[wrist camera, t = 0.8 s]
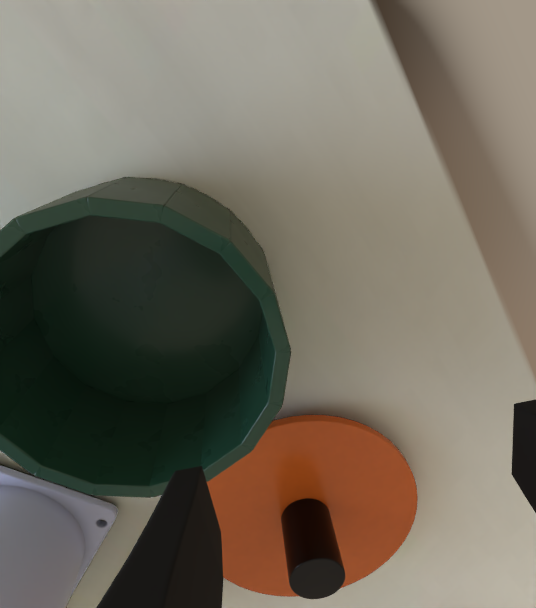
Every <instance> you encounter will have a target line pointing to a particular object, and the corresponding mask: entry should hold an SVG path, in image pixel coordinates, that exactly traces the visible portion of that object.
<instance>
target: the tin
mask: <svg viewBox="0 0 536 608" xmlns="http://www.w3.org/2000/svg"><path fill="white" fill-rule="evenodd" d="M290 356H291V348H290V344H289V340H288V337H287V333H286V329H285V326H284V322H283V318H282V315H281V311H280V307H279V304H278V300H277V296H276V293H275V289H274V286H273V282H272V279H271V275H270V272H269V268H268V265H267V261H266V258H265V254H264V251H263V250H262V248H261V247H260V245H259V244H258V243H257V242H256V240H255V239H254V237H253V236H252V234H251V233H250V232H249V230H248V229H247V228H246V226H245V225H244V224H243V223H242V222H241V221H240V220H239V219H238V218H237V217H236V216H235V215H234V213H233V212H232V211H231V210H230V209H228V208H227V207H225V206H223V205H222V204H221V203H219V202H217V201H216V200H214V199H213V198H211V197H210V196H208V195H206V194H204V193H202V192H200V191H198V190H195V189H193V188H191V187H188V186H186V185H185V184H181V183H176V182H171V181H166V180H160V179H151V178H133V177H127V178H126V177H124V178H120V179H117V180H114V181H110V182H106V183H102V184H99V185H97V186H93V187H90V188H86V189H83V190H80V191H76V192H74V193H71V194H69V195H67V196H64V197H62V198H60V199H57V200H55V201H53V202H50V203H48V204H46V205H43V206H41V207H39V208H36V209H34V210H32V211H29V212H27V213H25V214H22V215H20V216H18V217H16V218H14V219H12V220H11V221H10V222H9V223H8V224H7V225H6V226H5V227H4V228H2V229H1V230H0V450H1V451H2V452H3V453H5V454H6V455H7V456H9V457H10V458H11V459H13V460H14V461H15V462H16V463H18V464H19V465H20V466H22V467H23V468H24V469H26V470H27V471H28V472H30V473H31V474H34V475H35V476H37V477H40V478H43V479H46V480H48V481H51V482H54V483H57V484H60V485H63V486H66V487H69V488H72V489H75V490H77V491H80V492H83V493H86V494H89V495H93V496H120V497H147V498H150V497H156V496H160V495H162V494H163V492H164V490H165V488H166V486H167V484H168V482H169V480H170V478H171V476H172V475H173V473H174V472H175V471H177V470H183V469H188V468H193V467H198V466H202V468H203V471H204V475H205V478H206V481H207V482H208V481H210V480H211V479H213V478H214V477H216V476H217V475H218V474H220V473H221V472H223V471H224V470H226V469H227V468H229V467H230V466H232V465H233V464H234V463H236V462H237V461H239V460H240V459H242V458H243V457H245V456H246V455H247V454H249V453H250V452H251V451H252V450H253V449H254V448H255V446H256V445H257V443H258V442H259V440H260V439H261V437H262V436H263V434H264V433H265V431H266V430H267V428H268V427H269V425H270V424H271V422H272V421H273V419H274V418H275V416H276V415H277V413H278V412H279V410H280V409H281V407H282V404H283V399H284V393H285V387H286V381H287V374H288V368H289V362H290Z"/></svg>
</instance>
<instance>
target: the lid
mask: <svg viewBox="0 0 536 608" xmlns="http://www.w3.org/2000/svg"><path fill="white" fill-rule="evenodd" d="M207 485H208V488H209V492H210V495H211V499H212V502H213V506H214V509H215V513H216V516H217V519H218V523H219V526H220V530H221V539H222V561H223V577H224V578H225V579H227V580H228V581H230V582H232V583H234V584H236V585H238V586H240V587H243V588H245V589H248V590H251V591H255V592H258V593H262V594H268V595H274V596H300V597H303V598H307V599H320V598H324V597H327V596H330V595H332V594H334V593H335V592H336V591H338V590H339V589H340V588H342V587H345V586H347V585H349V584H352V583H354V582H356V581H358V580H360V579H362V578H364V577H366V576H367V575H369V574H370V573H372V572H373V571H375V570H376V569H378V568H379V567H380V566H381V565H383V564H384V563H385V562H386V561H388V560H389V558H390V557H391V556H392V555H393V554H394V553H395V552H396V551H397V550H398V549H399V547H400V546H401V545H402V543H403V542H404V540H405V539H406V537H407V535H408V533H409V532H410V529H411V527H412V524H413V522H414V519H415V514H416V510H417V488H416V483H415V479H414V476H413V473H412V471H411V469H410V467H409V465H408V463H407V461H406V459H405V458H404V456H403V455H402V454H401V452H400V451H399V449H398V448H397V447H396V446H395V445H394V444H393V443H392V442H391V441H390V440H389V439H387V438H386V437H385V436H383V435H382V434H380V433H379V432H377V431H376V430H374V429H372V428H370V427H368V426H366V425H364V424H361V423H358V422H356V421H353V420H349V419H345V418H341V417H336V416H327V415H301V416H292V417H287V418H282V419H278V420H274V421H272V422H271V424H270V425H269V427H268V428H267V430H266V431H265V433H264V434H263V436H262V437H261V439H260V440H259V442H258V443H257V445H256V446H255V448H254V449H253V450H252V451H251V452H250V453H249V454H247V455H246V456H245V457H243V458H242V459H240V460H239V461H237V462H236V463H234V464H233V465H232V466H230V467H229V468H227V469H226V470H224V471H223V472H221V473H220V474H218V475H217V476H216V477H214V478H213V479H211V480H210V481H208V482H207Z"/></svg>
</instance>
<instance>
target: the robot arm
mask: <svg viewBox="0 0 536 608" xmlns="http://www.w3.org/2000/svg"><path fill="white" fill-rule="evenodd" d="M512 475H513V477H514V479H515V480H516V482H517V484H518V485H519V487H520V489H521V490H522V492H523V494H524V495H525V497H526V498H527V500H528V502H529V503H530V505H531V506H532V508H533V509H534V511H535V512H536V400H531V401H526V402H521V403H516V404H514V423H513V452H512ZM117 513H118V509H117V507H116V506H115V505H113V504H111V503H108V502H105V501H103V500H100V499H97V498H94V497H91V496H88V495H85V494H82V493H79V492H77V491H74V490H71V489H68V488H65V487H62V486H59V485H56V484H53V483H50V482H48V481H45V480H42V479H39V478H36V477H33V476H30V475H27V474H24V473H21V472H19V471H16V470H13V469H10V468H7V467H4V466H1V465H0V608H66V607H67V604H68V601H69V599H70V597H71V596H72V594H73V592H74V590H75V589H76V587H77V585H78V583H79V582H80V580H81V578H82V577H83V575H84V573H85V571H86V570H87V568H88V566H89V564H90V563H91V561H92V559H93V557H94V556H95V554H96V552H97V551H98V549H99V547H100V545H101V544H102V542H103V540H104V538H105V537H106V535H107V533H108V532H109V530H110V528H111V526H112V525H113V523H114V521H115V519H116V516H117ZM101 520H105V521H101ZM222 592H223V561H222V539H221V530H220V526H219V523H218V519H217V516H216V513H215V509H214V506H213V502H212V499H211V495H210V492H209V488H208V485H207V481H206V478H205V475H204V471H203V468H202V466H198V467H193V468H188V469H183V470H177V471H175V472H174V473H173V475H172V476H171V478H170V480H169V482H168V484H167V486H166V488H165V490H164V492H163V494H162V496H161V498H160V500H159V502H158V504H157V506H156V508H155V510H154V512H153V514H152V515H151V517H150V519H149V521H148V523H147V525H146V527H145V528H144V530H143V532H142V534H141V535H140V537H139V539H138V541H137V543H136V544H135V546H134V548H133V550H132V551H131V553H130V555H129V557H128V558H127V560H126V562H125V563H124V565H123V567H122V568H121V570H120V571H119V573H118V575H117V576H116V578H115V579H114V581H113V582H112V584H111V586H110V587H109V589H108V590H107V592H106V594H105V595H104V597H103V598H102V600H101V602H100V603H99V605H98V606H97V608H222Z"/></svg>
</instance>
